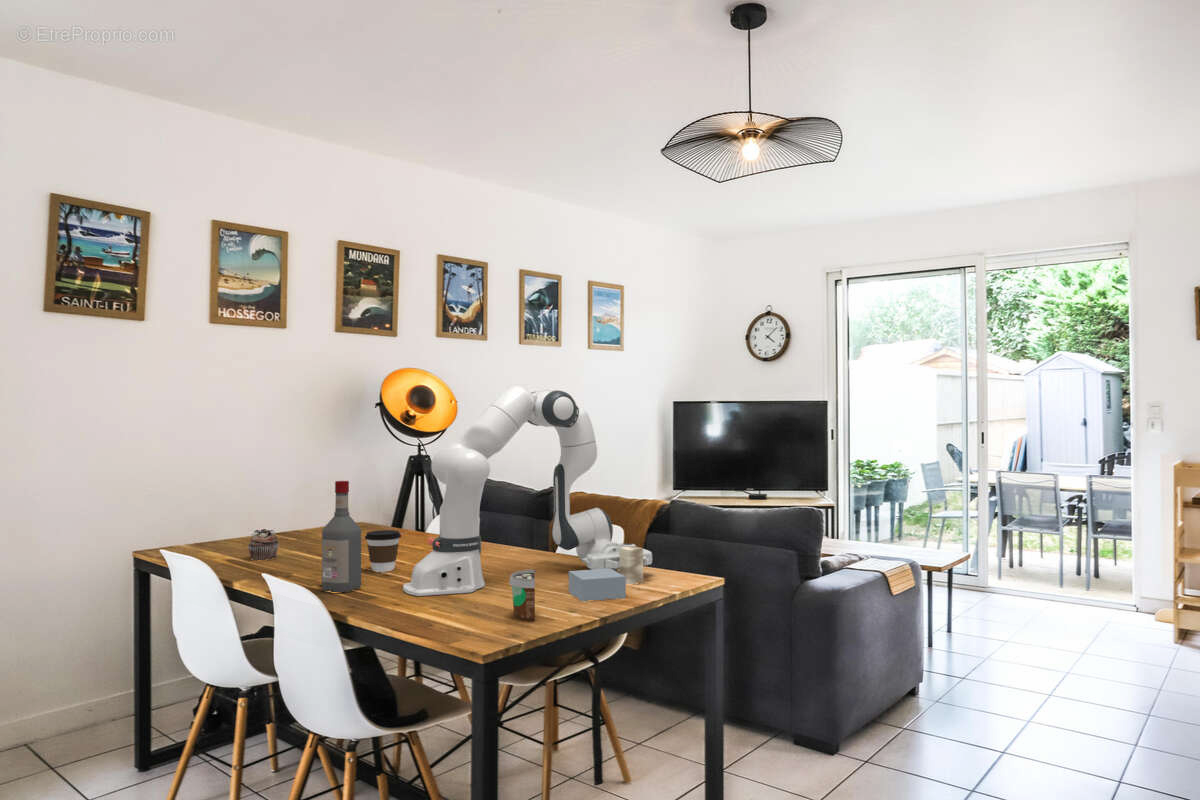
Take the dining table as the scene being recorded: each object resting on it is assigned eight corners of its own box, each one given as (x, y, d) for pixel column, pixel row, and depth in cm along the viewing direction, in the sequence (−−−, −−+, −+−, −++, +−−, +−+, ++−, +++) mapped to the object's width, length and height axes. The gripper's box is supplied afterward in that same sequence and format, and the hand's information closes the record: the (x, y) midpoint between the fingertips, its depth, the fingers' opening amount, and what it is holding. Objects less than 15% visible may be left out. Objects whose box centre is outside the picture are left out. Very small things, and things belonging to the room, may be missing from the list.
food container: (509, 610, 192) (509, 569, 193) (534, 609, 193) (534, 569, 193) (508, 623, 180) (508, 579, 180) (534, 622, 181) (534, 579, 181)
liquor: (343, 594, 210) (344, 483, 211) (316, 591, 214) (317, 482, 214) (365, 587, 219) (366, 480, 219) (339, 585, 222) (340, 479, 223)
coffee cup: (385, 566, 250) (385, 528, 250) (408, 570, 243) (408, 531, 244) (357, 572, 241) (357, 533, 241) (380, 576, 234) (380, 536, 235)
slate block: (582, 603, 201) (582, 579, 201) (568, 593, 212) (568, 571, 212) (625, 599, 205) (625, 576, 205) (609, 590, 216) (609, 568, 216)
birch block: (628, 585, 220) (628, 550, 221) (619, 582, 225) (619, 547, 225) (643, 583, 223) (643, 548, 223) (634, 580, 227) (634, 546, 227)
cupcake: (284, 556, 268) (284, 527, 268) (267, 562, 258) (267, 531, 258) (259, 556, 269) (259, 527, 270) (241, 561, 260) (241, 531, 260)
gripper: (578, 548, 231) (600, 555, 219) (637, 543, 240) (662, 550, 228) (578, 570, 231) (600, 578, 218) (637, 564, 240) (662, 571, 228)
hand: (632, 563), depth 223 cm, fingers open, 8 cm apart
